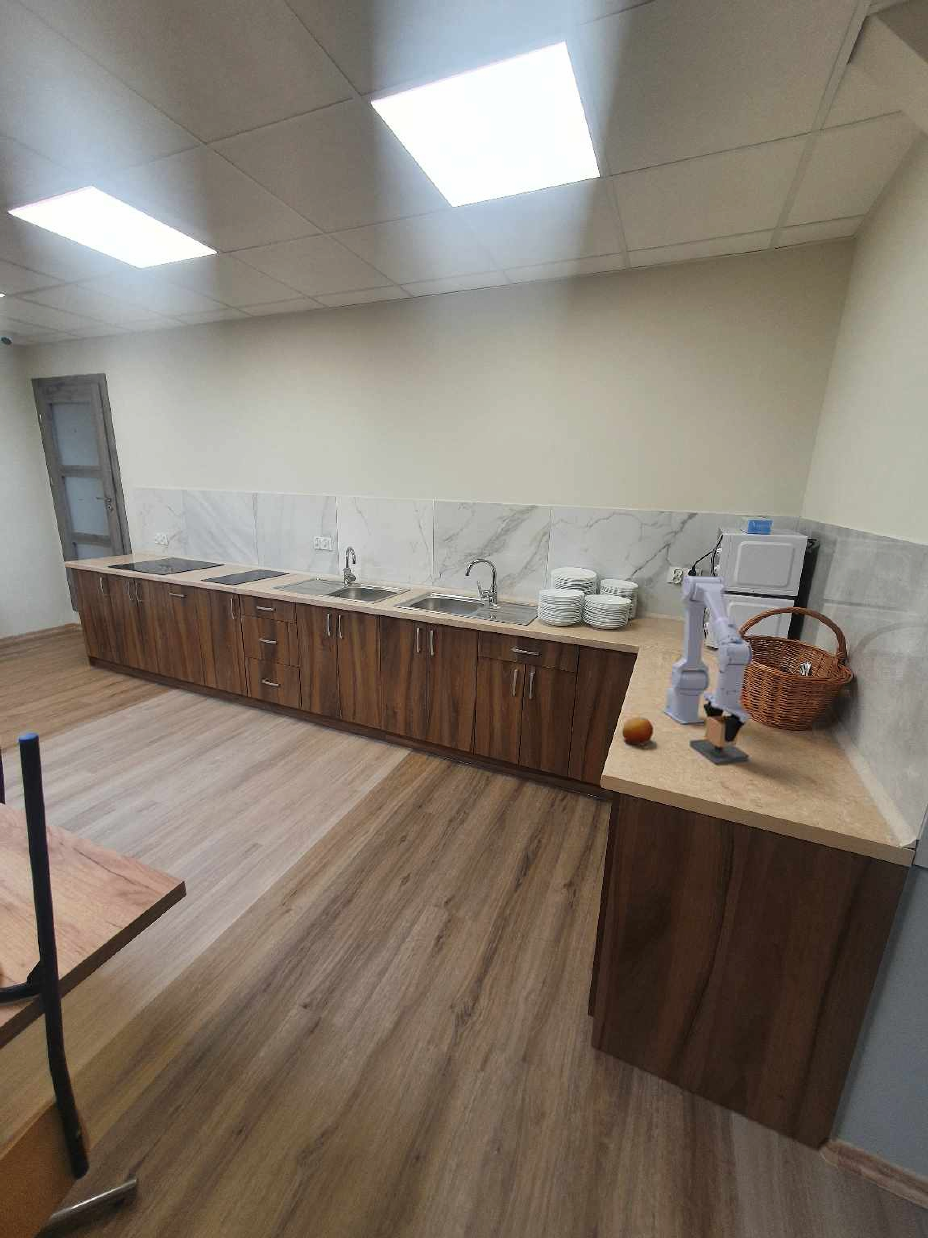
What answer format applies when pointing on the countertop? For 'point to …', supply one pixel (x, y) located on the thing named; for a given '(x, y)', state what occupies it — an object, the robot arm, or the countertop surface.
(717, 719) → the collar
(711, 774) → the countertop surface
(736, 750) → the post base
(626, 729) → the fruit
